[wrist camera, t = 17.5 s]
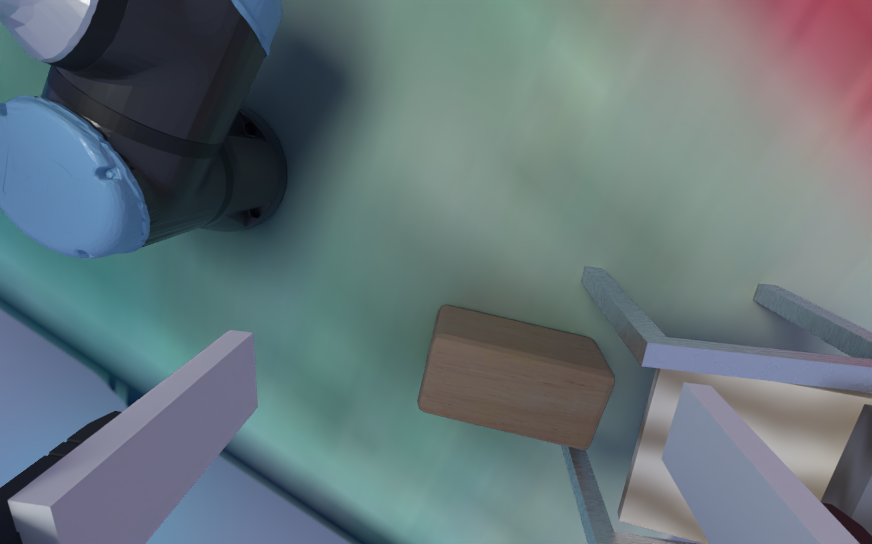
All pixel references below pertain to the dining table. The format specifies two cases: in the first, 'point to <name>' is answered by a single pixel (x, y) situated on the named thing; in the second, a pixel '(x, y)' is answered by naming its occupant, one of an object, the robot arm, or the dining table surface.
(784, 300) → the frame
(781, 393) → the trapdoor
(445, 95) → the dining table surface
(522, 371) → the block
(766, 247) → the dining table surface
